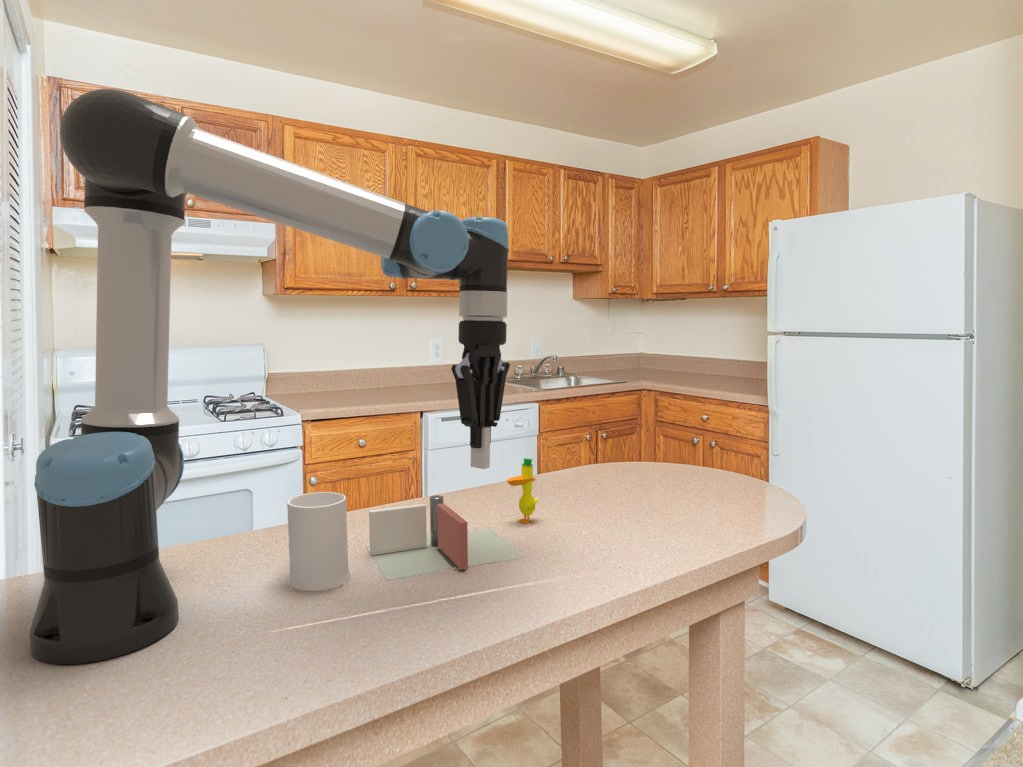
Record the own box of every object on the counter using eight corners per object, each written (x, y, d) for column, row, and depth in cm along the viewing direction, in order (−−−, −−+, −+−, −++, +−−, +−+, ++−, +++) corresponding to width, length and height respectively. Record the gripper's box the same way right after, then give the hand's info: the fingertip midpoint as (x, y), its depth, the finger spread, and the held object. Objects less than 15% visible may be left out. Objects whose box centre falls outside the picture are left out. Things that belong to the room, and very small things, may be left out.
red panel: (437, 546, 105) (437, 504, 104) (444, 545, 105) (444, 503, 105) (460, 569, 95) (459, 523, 95) (467, 568, 96) (467, 522, 95)
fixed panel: (371, 555, 102) (370, 512, 101) (369, 553, 103) (368, 510, 102) (426, 547, 106) (425, 505, 105) (424, 545, 107) (423, 503, 106)
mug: (273, 571, 97) (270, 492, 95) (328, 558, 102) (326, 483, 101) (300, 598, 87) (297, 511, 86) (359, 582, 93) (357, 500, 91)
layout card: (386, 582, 92) (386, 579, 92) (365, 548, 106) (365, 546, 106) (525, 558, 101) (525, 556, 101) (490, 530, 115) (490, 528, 115)
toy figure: (513, 529, 115) (512, 463, 114) (502, 523, 118) (502, 459, 117) (544, 522, 119) (544, 458, 118) (533, 517, 122) (533, 455, 121)
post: (432, 547, 105) (432, 499, 105) (429, 543, 107) (428, 496, 107) (445, 545, 106) (445, 498, 105) (441, 541, 108) (441, 494, 107)
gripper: (486, 319, 109) (484, 457, 111) (437, 318, 98) (435, 471, 100) (524, 320, 105) (521, 463, 107) (478, 319, 94) (475, 478, 96)
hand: (480, 466), depth 104 cm, fingers closed
